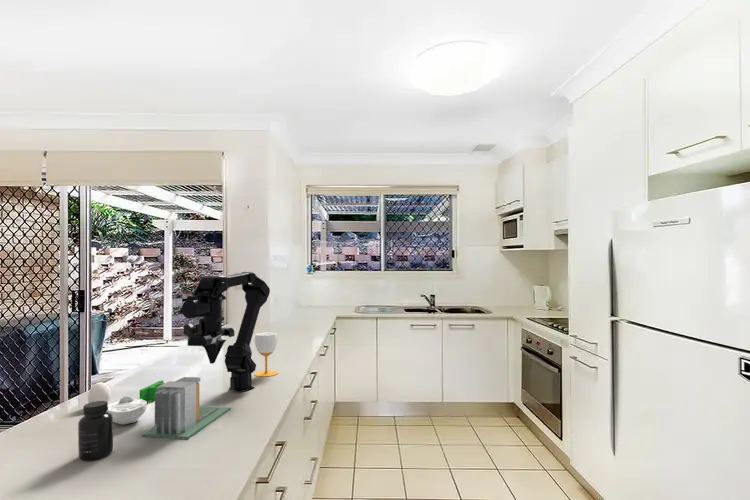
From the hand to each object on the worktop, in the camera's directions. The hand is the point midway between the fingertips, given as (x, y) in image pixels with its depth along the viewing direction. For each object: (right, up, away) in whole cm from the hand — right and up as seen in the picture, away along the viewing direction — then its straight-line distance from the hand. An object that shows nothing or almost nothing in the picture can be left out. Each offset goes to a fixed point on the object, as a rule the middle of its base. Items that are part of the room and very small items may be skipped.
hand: (212, 363), depth 137 cm
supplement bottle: (-13, -12, -37) cm, 41 cm away
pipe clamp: (-21, -13, +5) cm, 25 cm away
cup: (+9, -14, +34) cm, 38 cm away
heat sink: (0, -12, -17) cm, 21 cm away
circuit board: (0, -12, -17) cm, 21 cm away
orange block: (0, -11, -17) cm, 21 cm away
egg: (-34, -13, -3) cm, 37 cm away
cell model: (-18, -13, -17) cm, 27 cm away
